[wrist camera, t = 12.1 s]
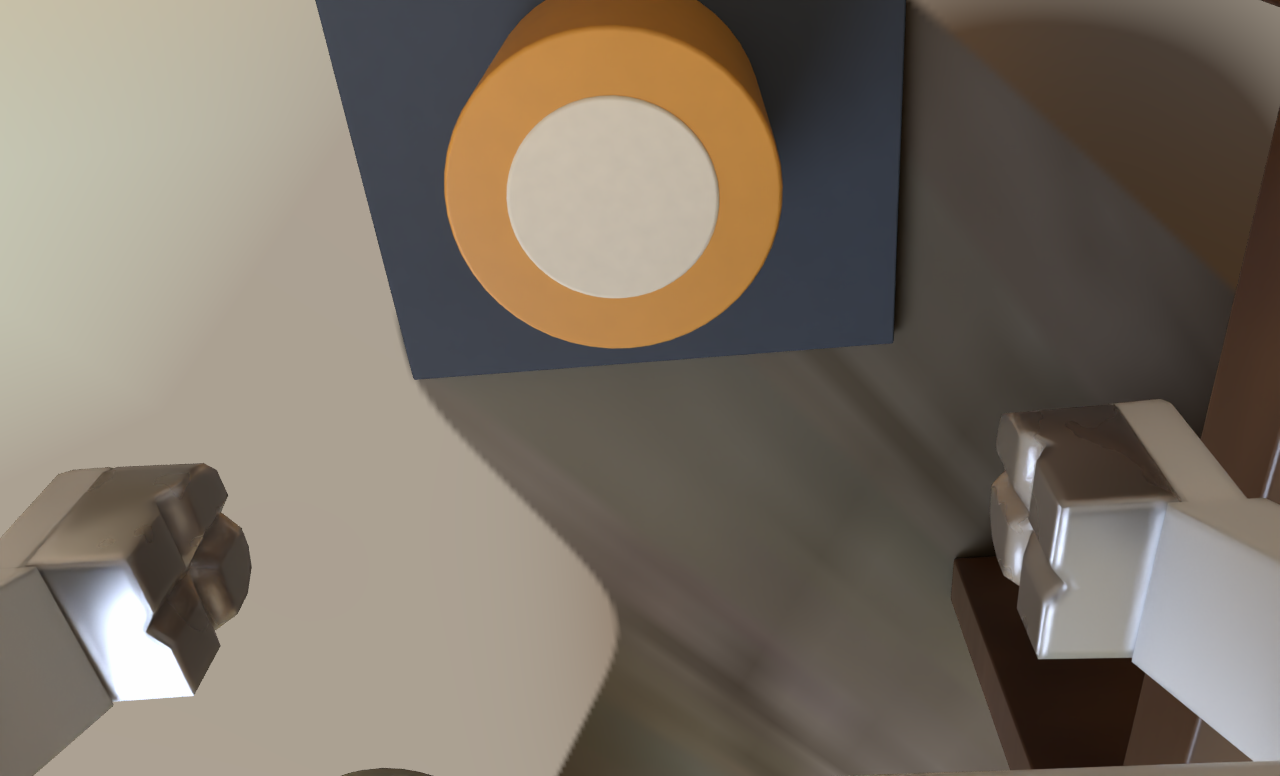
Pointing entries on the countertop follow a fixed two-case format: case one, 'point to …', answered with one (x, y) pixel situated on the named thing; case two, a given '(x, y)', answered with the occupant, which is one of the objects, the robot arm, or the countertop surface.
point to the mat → (802, 128)
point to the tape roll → (615, 172)
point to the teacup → (386, 772)
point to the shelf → (1115, 687)
